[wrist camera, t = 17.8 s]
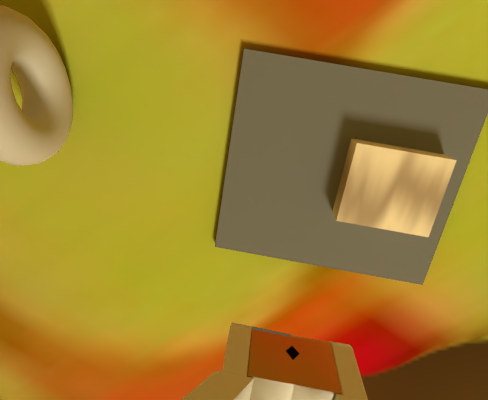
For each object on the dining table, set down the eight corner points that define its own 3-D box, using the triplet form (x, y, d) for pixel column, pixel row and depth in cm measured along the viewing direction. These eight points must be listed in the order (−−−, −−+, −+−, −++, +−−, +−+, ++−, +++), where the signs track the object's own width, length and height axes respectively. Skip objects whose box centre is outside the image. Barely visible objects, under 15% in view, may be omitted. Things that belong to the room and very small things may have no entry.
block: (332, 211, 29) (418, 226, 29) (336, 220, 27) (428, 237, 27) (351, 138, 27) (443, 154, 27) (357, 143, 25) (456, 160, 25)
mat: (419, 281, 31) (422, 284, 30) (215, 243, 32) (214, 246, 31) (491, 90, 26) (496, 90, 25) (244, 49, 26) (244, 48, 26)
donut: (93, 149, 30) (8, 183, 20) (53, 151, 30) (-48, 184, 21) (67, 15, 27) (-48, -19, 17) (23, 19, 27) (-113, -13, 17)
